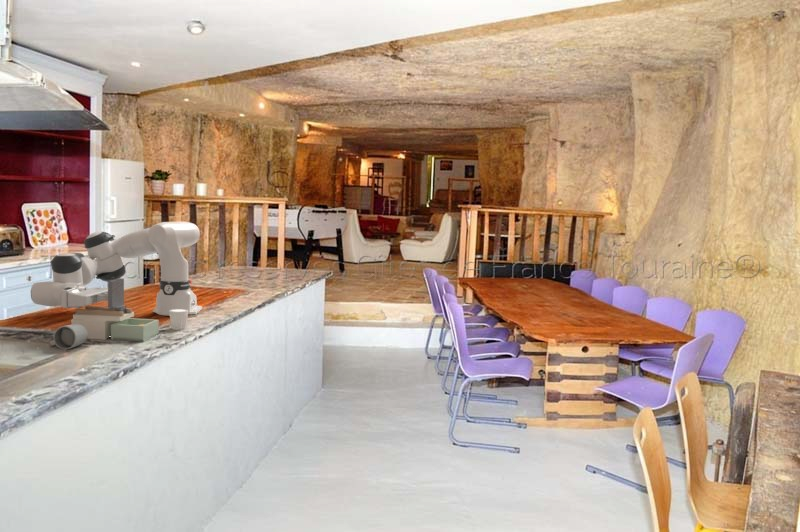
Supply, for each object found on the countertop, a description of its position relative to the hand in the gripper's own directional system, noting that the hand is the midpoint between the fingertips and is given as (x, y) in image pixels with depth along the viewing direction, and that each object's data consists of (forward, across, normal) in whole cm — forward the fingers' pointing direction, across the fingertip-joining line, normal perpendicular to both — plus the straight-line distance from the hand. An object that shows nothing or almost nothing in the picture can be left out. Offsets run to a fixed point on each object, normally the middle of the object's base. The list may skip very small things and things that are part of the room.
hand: (113, 297), depth 228 cm
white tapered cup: (+16, -18, -14) cm, 28 cm away
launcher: (-4, 0, -14) cm, 14 cm away
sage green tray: (+8, 0, -14) cm, 16 cm away
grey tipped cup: (-6, +18, -14) cm, 24 cm away
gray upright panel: (+3, 0, -6) cm, 6 cm away
